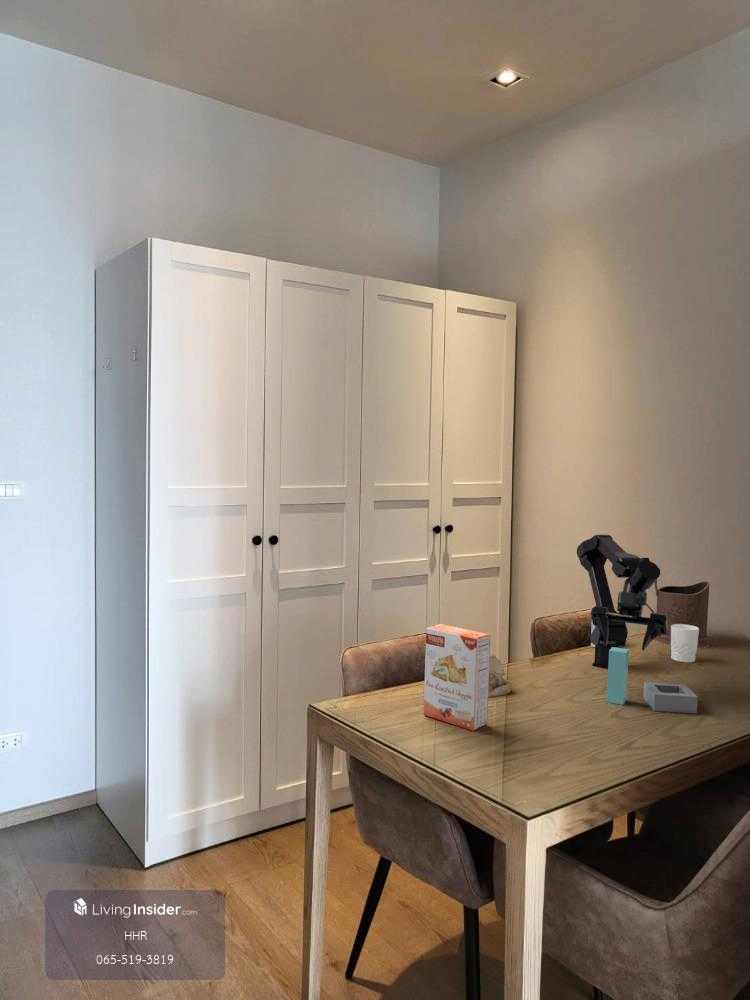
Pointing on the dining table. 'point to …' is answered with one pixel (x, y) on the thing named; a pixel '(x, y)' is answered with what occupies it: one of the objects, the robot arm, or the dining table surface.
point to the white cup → (684, 642)
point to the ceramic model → (497, 678)
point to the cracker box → (457, 676)
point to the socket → (670, 697)
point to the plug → (617, 675)
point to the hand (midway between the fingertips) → (623, 647)
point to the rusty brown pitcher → (684, 609)
